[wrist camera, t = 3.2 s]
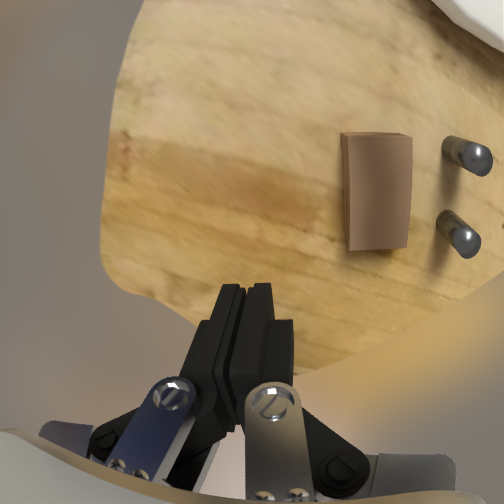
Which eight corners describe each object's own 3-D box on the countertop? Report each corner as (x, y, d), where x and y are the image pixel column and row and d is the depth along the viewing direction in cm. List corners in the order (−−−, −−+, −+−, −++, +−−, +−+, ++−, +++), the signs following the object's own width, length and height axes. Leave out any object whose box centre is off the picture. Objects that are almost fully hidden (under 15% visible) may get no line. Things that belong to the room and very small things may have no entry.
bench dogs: (462, 136, 19) (493, 147, 14) (454, 232, 23) (477, 257, 19) (441, 134, 19) (470, 143, 15) (434, 233, 24) (456, 259, 19)
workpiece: (397, 132, 20) (412, 137, 17) (394, 230, 24) (406, 248, 21) (340, 132, 21) (347, 136, 18) (343, 232, 25) (349, 250, 22)
